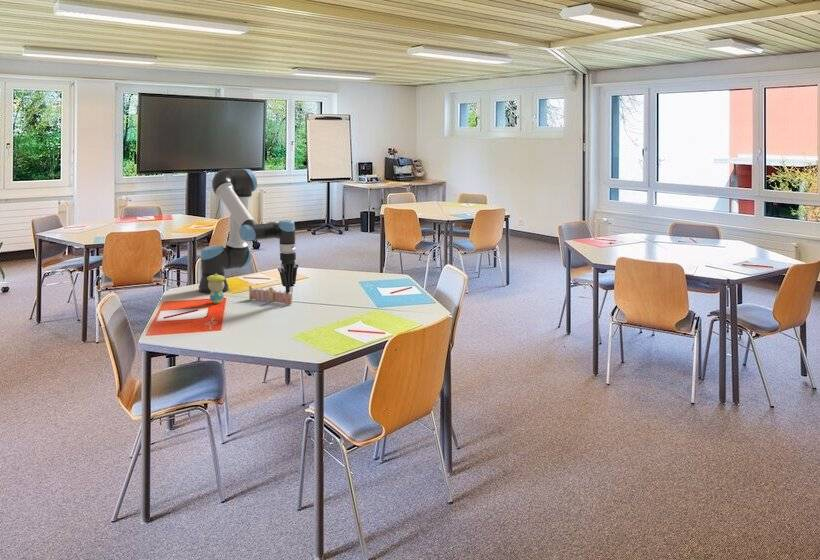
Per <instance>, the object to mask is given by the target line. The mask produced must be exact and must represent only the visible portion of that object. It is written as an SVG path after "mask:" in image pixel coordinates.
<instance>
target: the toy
mask: <svg viewBox="0 0 820 560" xmlns="http://www.w3.org/2000/svg"><path fill="white" fill-rule="evenodd" d="M225 278H226V276H225V277H224V276H222V275H217V274H215V275H210V276H208V277H207V280H208V281H209V282H208V287H209V289H210V290H211V293H209V299H210V301H211V302H212V303H213V304H215V305H216V304H217V305H218V304H220V303H221V302H222V301H223V299H224V292H222V290H223V288H224V280H225Z"/></svg>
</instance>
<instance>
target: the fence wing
mask: <svg viewBox="0 0 820 560" xmlns="http://www.w3.org/2000/svg"><path fill="white" fill-rule="evenodd" d="M273 298H274V302H278V303H284V304H288V305H289V306H290V305H292V304H293V303H292V300H293V299H292V300H291V292H289V294H287V293H286V290H284V291H283V292H282V290H278V291H277V289H274V292H273Z"/></svg>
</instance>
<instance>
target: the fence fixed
mask: <svg viewBox="0 0 820 560" xmlns="http://www.w3.org/2000/svg"><path fill="white" fill-rule="evenodd" d="M274 290H275V288H274V287H270V286H269V287H268V288H266V289H265V288H264V287H263V288H261V289H260V288H259V287H256V288H255V287H254V286H253V285H249V286H248V291H249V292H248V295H249V296H248V297H249V300H250V301H253V300H264V301H269V302H271V303H272V302H274V298H273V292H274Z"/></svg>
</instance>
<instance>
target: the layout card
mask: <svg viewBox="0 0 820 560" xmlns="http://www.w3.org/2000/svg"><path fill="white" fill-rule="evenodd" d="M292 304H293V302H292ZM242 305H244V306H251V307H260V308H267V309H276V310H278V309H281V308H283V307H286V306H288V305H289V304H284V303H278V302H272V303H271V302H269V301H264V300H255V299H252V300H250V301H248V302H245V303H242Z"/></svg>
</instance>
